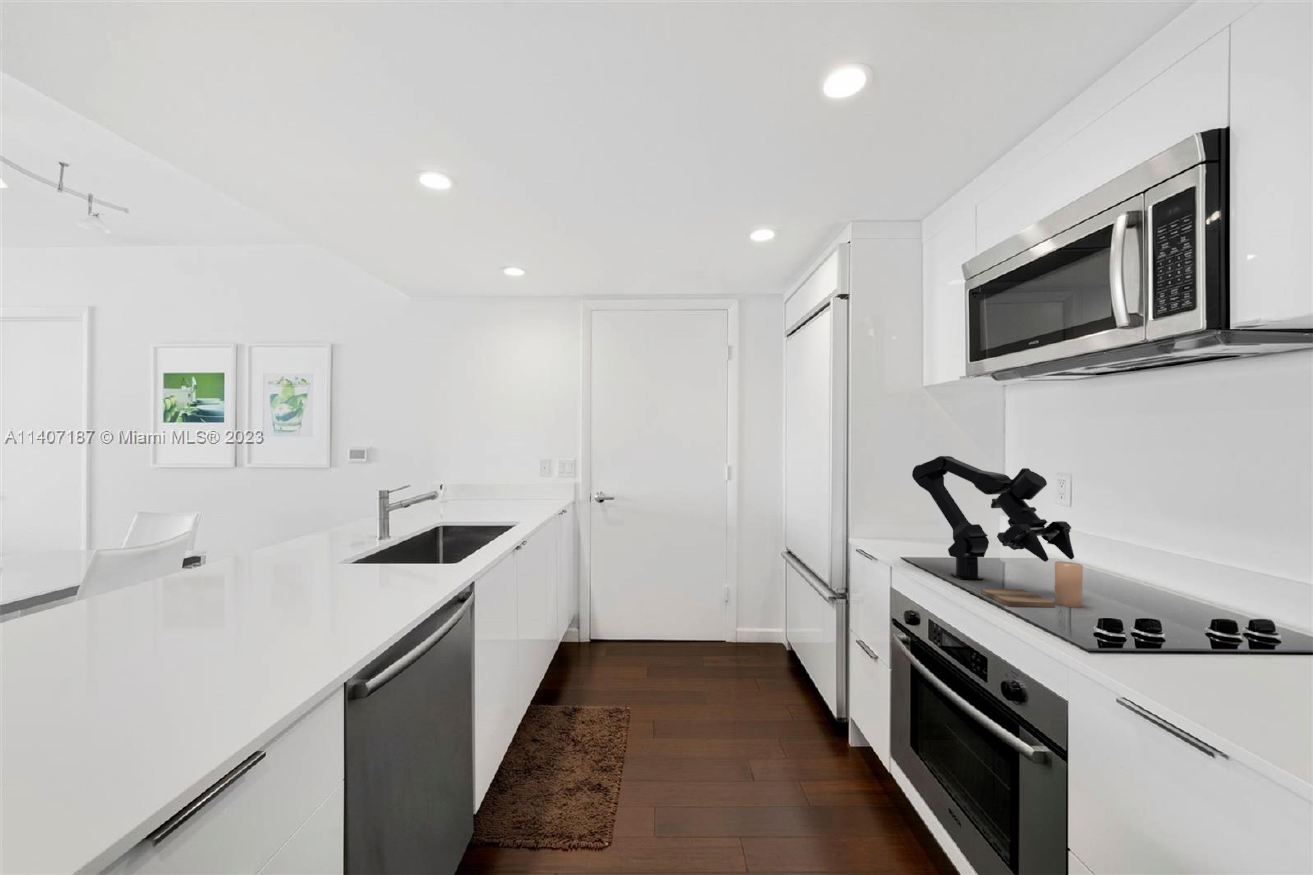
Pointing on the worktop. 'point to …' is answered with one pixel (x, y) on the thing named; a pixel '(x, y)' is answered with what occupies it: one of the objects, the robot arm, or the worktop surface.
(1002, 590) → the walnut board
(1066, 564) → the terracotta canister
